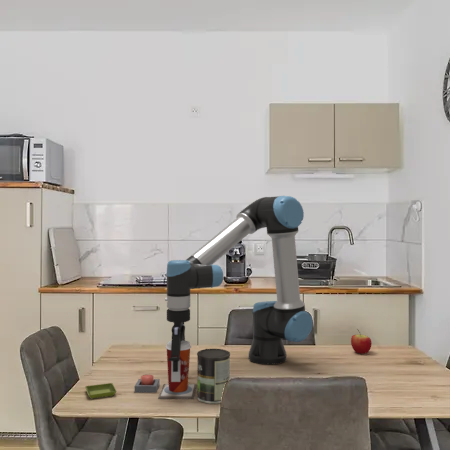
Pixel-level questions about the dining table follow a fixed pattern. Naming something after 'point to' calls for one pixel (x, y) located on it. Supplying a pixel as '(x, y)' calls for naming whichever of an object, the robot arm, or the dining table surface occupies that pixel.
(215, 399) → the coffee can
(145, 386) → the button housing
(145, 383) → the button
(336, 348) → the dining table surface
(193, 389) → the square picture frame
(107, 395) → the green rectangular tray
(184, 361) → the coffee cup
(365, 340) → the apple
